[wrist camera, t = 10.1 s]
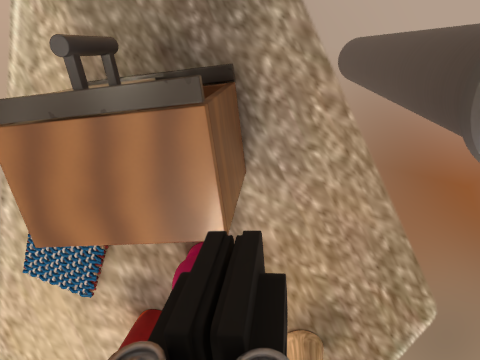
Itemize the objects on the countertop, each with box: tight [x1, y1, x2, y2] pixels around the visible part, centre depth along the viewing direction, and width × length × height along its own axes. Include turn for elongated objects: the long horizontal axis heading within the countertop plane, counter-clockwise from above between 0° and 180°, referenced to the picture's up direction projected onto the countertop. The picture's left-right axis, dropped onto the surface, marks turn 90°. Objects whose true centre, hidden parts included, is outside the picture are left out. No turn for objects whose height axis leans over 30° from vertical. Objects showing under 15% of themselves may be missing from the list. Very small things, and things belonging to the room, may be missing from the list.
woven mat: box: [23, 234, 108, 298], centre depth 43 cm, size 10×11×2 cm
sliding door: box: [50, 34, 155, 93], centre depth 27 cm, size 8×5×13 cm, turn 97°
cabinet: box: [0, 64, 246, 248], centre depth 29 cm, size 16×12×14 cm
